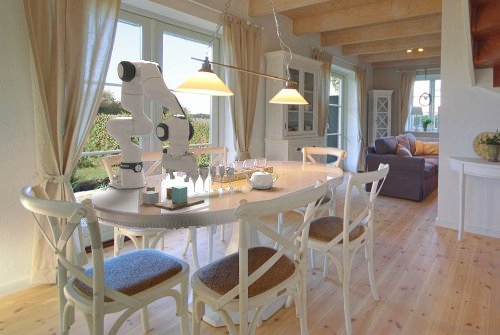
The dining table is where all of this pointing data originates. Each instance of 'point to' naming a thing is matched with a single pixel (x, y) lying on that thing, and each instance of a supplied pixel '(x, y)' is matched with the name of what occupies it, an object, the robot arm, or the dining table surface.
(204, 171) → the goblet set
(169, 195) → the oak block
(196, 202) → the walnut board
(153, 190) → the charcoal cylinder
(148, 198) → the grey block
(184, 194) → the teal block
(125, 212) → the dining table surface
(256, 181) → the teapot
